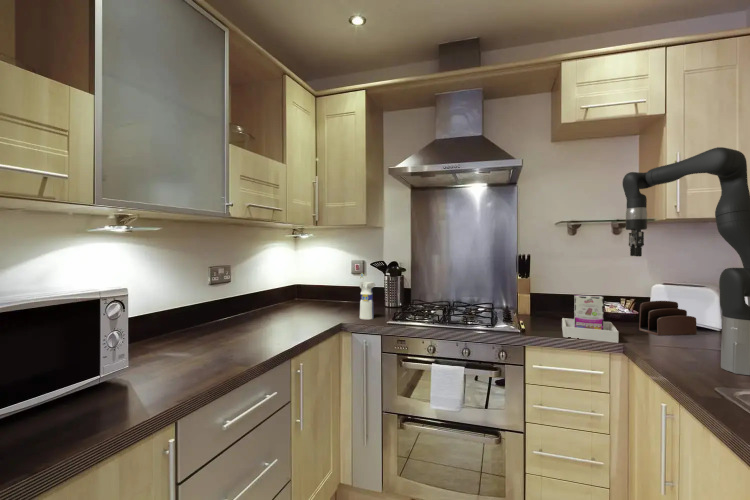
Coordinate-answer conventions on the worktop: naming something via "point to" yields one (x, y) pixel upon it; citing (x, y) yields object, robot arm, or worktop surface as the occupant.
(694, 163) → the robot arm
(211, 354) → the worktop surface
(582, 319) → the candy bar box
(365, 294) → the white spray bottle
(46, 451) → the worktop surface
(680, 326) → the letter holder
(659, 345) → the worktop surface
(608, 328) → the tray
